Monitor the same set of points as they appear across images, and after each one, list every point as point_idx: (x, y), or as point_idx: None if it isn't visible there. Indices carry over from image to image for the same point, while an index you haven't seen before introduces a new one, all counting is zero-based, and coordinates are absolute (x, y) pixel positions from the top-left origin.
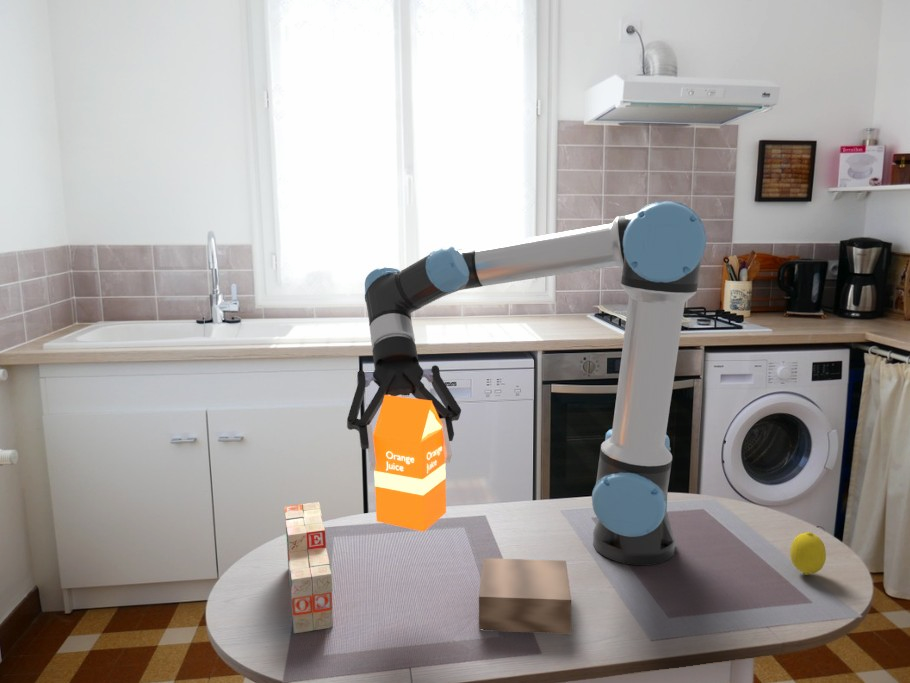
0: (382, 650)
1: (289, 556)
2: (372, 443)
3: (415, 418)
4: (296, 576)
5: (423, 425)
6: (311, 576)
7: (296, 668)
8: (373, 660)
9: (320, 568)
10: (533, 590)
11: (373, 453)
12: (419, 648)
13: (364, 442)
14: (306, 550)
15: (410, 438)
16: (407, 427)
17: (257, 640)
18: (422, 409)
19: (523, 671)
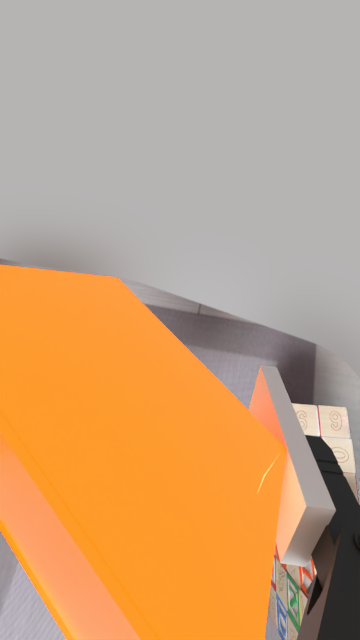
0: (218, 347)
1: (357, 491)
2: (282, 415)
3: (78, 318)
4: (339, 414)
5: (68, 277)
6: (317, 406)
7: (304, 349)
8: (229, 335)
9: (304, 425)
10: None
11: (272, 386)
12: (181, 337)
13: (315, 445)
14: None
15: (141, 311)
16: (135, 336)
17: (350, 414)
18: (3, 299)
19: (105, 275)
